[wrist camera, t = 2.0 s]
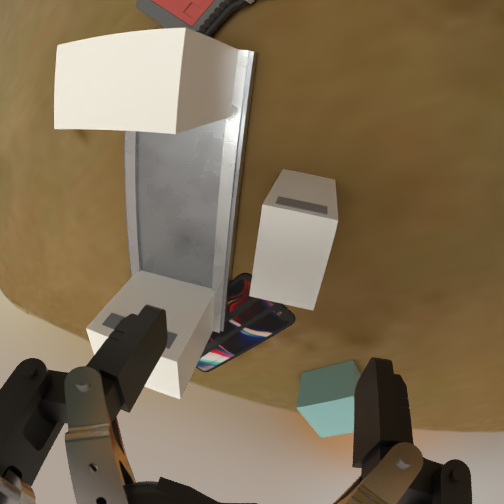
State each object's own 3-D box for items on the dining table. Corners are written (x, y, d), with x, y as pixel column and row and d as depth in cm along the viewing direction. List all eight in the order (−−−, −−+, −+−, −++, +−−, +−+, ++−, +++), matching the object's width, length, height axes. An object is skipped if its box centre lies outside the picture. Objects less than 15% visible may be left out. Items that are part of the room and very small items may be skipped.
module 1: (239, 49, 18) (186, 26, 11) (231, 117, 21) (175, 135, 13) (139, 49, 19) (57, 44, 12) (135, 110, 22) (54, 130, 14)
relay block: (352, 358, 31) (370, 393, 33) (301, 371, 33) (324, 404, 35) (352, 396, 26) (371, 428, 29) (296, 407, 29) (320, 437, 31)
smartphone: (299, 321, 29) (204, 374, 36) (299, 316, 30) (206, 370, 37) (244, 269, 28) (159, 337, 35) (246, 266, 29) (161, 334, 36)
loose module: (336, 179, 23) (339, 219, 16) (319, 249, 26) (313, 311, 19) (282, 168, 23) (261, 203, 16) (270, 239, 26) (248, 296, 19)
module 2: (216, 289, 28) (177, 361, 21) (213, 329, 31) (180, 399, 23) (138, 269, 29) (85, 327, 22) (142, 308, 32) (98, 367, 24)
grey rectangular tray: (257, 53, 19) (252, 50, 18) (226, 324, 32) (222, 333, 31) (137, 52, 21) (127, 50, 19) (140, 299, 33) (133, 307, 32)
